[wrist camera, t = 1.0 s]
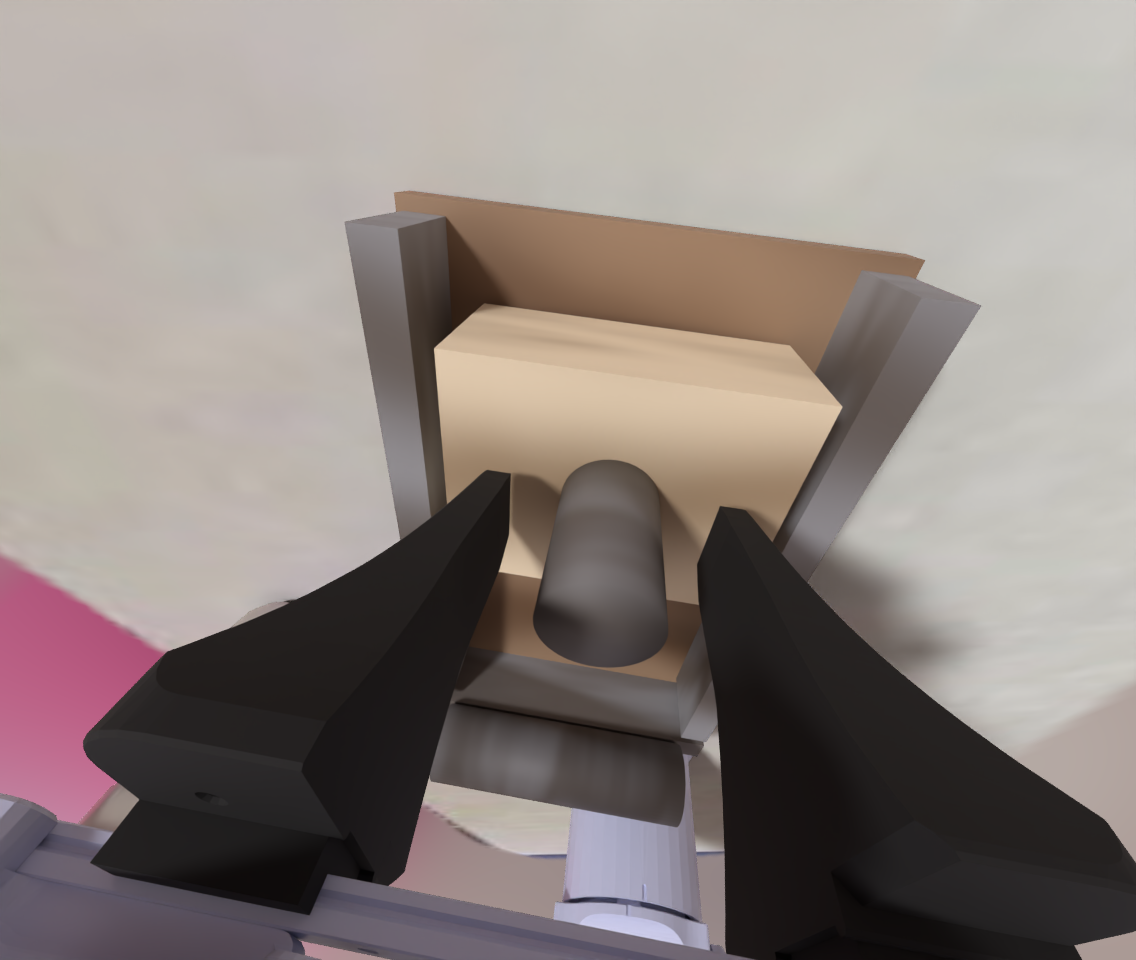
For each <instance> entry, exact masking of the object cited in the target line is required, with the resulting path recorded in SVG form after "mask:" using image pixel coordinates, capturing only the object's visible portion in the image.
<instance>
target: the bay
mask: <svg viewBox="0 0 1136 960" xmlns="http://www.w3.org/2000/svg"><path fill="white" fill-rule="evenodd" d="M394 196H395V205H396V212H394V213H389V214H383V215H378V216H373V217H367V218H362V219H357V220H352V221H346V222H345V227H346V233H347V239H348V244H349V250H350V256H351V261H352V267H353V273H354V278H355V284H356V290H357V295H358V301H359V307H360V312H361V318H362V324H363V329H364V335H365V341H366V346H367V352H368V358H369V363H370V369H371V375H372V380H373V386H374V392H375V397H376V403H377V409H378V414H379V420H380V426H381V431H382V437H383V443H384V448H385V454H386V460H387V465H388V471H389V477H390V482H391V488H392V494H393V499H394V505H395V511H396V516H397V522H398V528H399V533H400V539H403V538H404V537H406V536H407V535H408V534H410V533H411V532H412V531H414V530H415V529H416V528H418V527H419V526H420V525H422V524H423V523H424V522H426V521H427V520H428V519H430V518H431V517H432V516H433V515H434V514H436V513H437V512H438V511H439V510H440V509H442V508H443V507H444V506H445V505H447V497H446V485H445V473H444V461H443V449H442V437H441V426H440V414H439V402H438V390H437V378H436V366H435V354H434V348H435V347H436V346H437V345H438V344H439V343H440V342H442V341H443V340H444V339H445V338H446V337H447V336H448V335H449V334H450V333H452V332H453V331H454V330H455V329H456V328H457V327H458V326H459V325H461V324H462V323H463V322H464V321H465V320H466V319H467V318H468V317H469V316H471V315H472V314H473V313H474V312H475V311H476V310H477V309H478V308H479V307H481V306H482V305H483V304H484V303H486V304H493V305H500V306H508V307H515V308H522V309H529V310H536V311H544V312H551V313H558V314H565V315H573V316H580V317H587V318H594V319H602V320H609V321H616V322H623V323H631V324H638V325H645V326H652V327H660V328H667V329H674V330H681V331H689V332H696V333H703V334H710V335H718V336H725V337H732V338H739V339H747V340H754V341H761V342H768V343H775V344H783V345H790V346H791V347H792V349H793V350H794V351H795V352H796V353H797V354H798V356H799V357H800V358H801V359H802V360H803V361H804V363H805V364H806V365H807V366H808V367H809V368H810V370H811V371H812V372H813V373H814V374H815V375H816V377H817V378H818V379H819V380H820V381H821V382H822V383H823V385H824V386H825V387H826V388H827V389H828V390H829V392H830V393H831V394H832V395H833V396H834V397H835V399H836V400H837V401H838V402H839V403H840V404H841V406H842V409H841V411H840V413H839V415H838V417H837V419H836V421H835V423H834V425H833V426H832V428H831V430H830V432H829V434H828V436H827V438H826V440H825V442H824V444H823V446H822V448H821V450H820V452H819V453H818V455H817V457H816V459H815V461H814V463H813V465H812V467H811V469H810V471H809V473H808V475H807V477H806V479H805V480H804V482H803V484H802V486H801V488H800V490H799V492H798V494H797V496H796V498H795V500H794V502H793V504H792V505H791V507H790V509H789V511H788V513H787V515H786V517H785V519H784V521H783V523H782V525H781V527H780V529H779V531H778V532H777V534H776V536H775V538H774V540H773V544H774V545H775V546H776V547H777V548H778V550H779V551H780V552H781V553H782V554H783V556H784V557H785V558H786V559H787V560H788V562H789V563H790V564H791V565H792V566H793V567H794V569H795V570H796V571H797V572H798V573H799V574H800V575H801V577H802V578H803V579H804V580H805V581H806V582H807V581H808V580H809V578H810V577H811V575H812V573H813V572H814V570H815V569H816V567H817V565H818V564H819V562H820V561H821V559H822V558H823V556H824V554H825V553H826V551H827V550H828V548H829V546H830V545H831V543H832V542H833V540H834V539H835V537H836V535H837V534H838V532H839V531H840V529H841V527H842V526H843V524H844V523H845V521H846V520H847V518H848V516H849V515H850V513H851V512H852V510H853V508H854V507H855V505H856V504H857V502H858V500H859V499H860V497H861V496H862V494H863V493H864V491H865V489H866V488H867V486H868V485H869V483H870V481H871V480H872V478H873V477H874V475H875V474H876V472H877V470H878V469H879V467H880V466H881V464H882V462H883V461H884V459H885V458H886V456H887V455H888V453H889V451H890V450H891V448H892V447H893V445H894V443H895V442H896V440H897V439H898V437H899V436H900V434H901V432H902V431H903V429H904V428H905V426H906V424H907V423H908V421H909V420H910V418H911V416H912V415H913V413H914V412H915V410H916V409H917V407H918V405H919V404H920V402H921V401H922V399H923V397H924V396H925V394H926V393H927V391H928V390H929V388H930V386H931V385H932V383H933V382H934V380H935V378H936V377H937V375H938V374H939V372H940V371H941V369H942V367H943V366H944V364H945V363H946V361H947V359H948V358H949V356H950V355H951V353H952V352H953V350H954V348H955V347H956V345H957V344H958V342H959V340H960V339H961V337H962V336H963V334H964V333H965V331H966V329H967V328H968V326H969V325H970V323H971V321H972V320H973V318H974V317H975V315H976V313H977V312H978V310H979V309H980V307H981V305H979V304H976V303H974V302H971V301H969V300H966V299H964V298H961V297H959V296H956V295H954V294H951V293H949V292H946V291H944V290H941V289H939V288H936V287H934V286H931V285H929V284H927V283H924V282H922V281H919V280H917V279H916V277H917V275H918V273H919V271H920V269H921V267H922V265H923V263H924V262H925V260H922V259H919V258H916V257H913V256H910V255H907V254H901V253H893V252H885V251H877V250H870V249H862V248H854V247H846V246H838V245H830V244H822V243H815V242H807V241H799V240H791V239H783V238H775V237H768V236H760V235H752V234H744V233H736V232H728V231H720V230H713V229H705V228H697V227H689V226H681V225H673V224H666V223H658V222H650V221H642V220H634V219H626V218H618V217H611V216H603V215H595V214H587V213H579V212H571V211H564V210H556V209H548V208H540V207H532V206H524V205H516V204H509V203H501V202H493V201H485V200H477V199H469V198H462V197H454V196H446V195H438V194H430V193H422V192H414V191H404V192H394ZM540 583H541V579H539V578H533V577H527V576H521V575H515V574H509V573H503V572H498V575H497V577H496V580H495V582H494V584H493V587H492V589H491V592H490V594H489V597H488V599H487V602H486V604H485V607H484V609H483V611H482V614H481V616H480V619H479V621H478V624H477V626H476V628H475V631H474V633H473V636H472V638H471V641H470V643H469V645H468V648H467V651H466V654H465V656H464V659H463V662H462V665H461V668H460V671H459V675H458V678H457V681H456V685H455V688H454V691H453V695H452V698H451V701H450V705H449V708H448V712H447V715H446V718H445V722H444V725H443V729H442V732H441V736H440V739H439V743H438V746H437V750H436V753H435V757H434V761H433V764H432V768H431V772H430V780H431V781H432V782H437V783H443V784H448V785H453V786H459V787H464V788H469V789H475V790H480V791H485V792H491V793H496V794H501V795H506V796H512V797H517V798H522V799H528V800H533V801H538V802H544V803H549V804H554V805H560V806H565V807H570V808H576V809H581V810H586V811H591V812H597V813H602V814H607V815H613V816H618V817H623V818H629V819H634V820H639V821H645V822H650V823H655V824H660V825H666V826H671V827H678V826H679V825H680V823H681V820H682V816H683V811H684V804H685V788H686V780H685V764H684V758H683V754H686V755H691V756H698V754H699V752H700V751H701V749H702V748H703V746H704V744H703V742H706V741H707V740H708V738H709V737H710V735H711V733H712V732H713V730H714V729H715V727H716V726H717V724H718V720H717V708H716V700H715V693H714V686H713V681H712V675H711V670H710V664H709V659H708V653H707V648H706V642H705V637H704V631H703V625H702V620H701V614H700V608H699V605H696V604H690V603H684V602H678V601H672V600H666V601H667V615H668V637H667V641H666V642H665V644H664V646H663V647H662V649H661V650H660V651H659V652H658V653H657V654H655V655H654V656H652V657H651V658H649V659H647V660H645V661H643V662H640V663H637V664H634V665H630V666H624V667H615V668H605V667H594V666H588V665H583V664H580V663H576V662H573V661H571V660H568V659H566V658H564V657H562V656H560V655H558V654H557V653H555V652H553V651H552V650H551V649H549V648H548V647H547V646H546V645H545V644H544V643H543V642H542V641H541V640H540V638H539V637H538V635H537V634H536V631H535V629H534V625H533V614H534V609H535V605H536V601H537V596H538V592H539V588H540Z"/></svg>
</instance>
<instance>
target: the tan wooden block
mask: <svg viewBox="0 0 1136 960" xmlns="http://www.w3.org/2000/svg"><path fill="white" fill-rule="evenodd" d="M434 354H435V366H436V378H437V390H438V402H439V414H440V426H441V437H442V449H443V461H444V473H445V485H446V497H447V504H448V503H449V502H450V501H451V500H452V499H454V498H455V497H456V496H457V495H458V494H459V493H460V492H462V491H463V490H464V489H465V488H466V487H467V486H468V485H469V484H471V483H472V482H473V481H474V480H475V479H476V478H477V477H478V476H479V475H480V474H482V473H483V472H484V471H486V470H492V471H499V472H505V473H511V485H510V524H509V537H508V541H507V544H506V548H505V552H504V556H503V559H502V563H501V566H500V570H499V572H503V573H509V574H515V575H521V576H527V577H533V578H539V579H541V583H540V588H539V592H538V596H537V601H536V605H535V609H534V614H533V625H534V629H535V631H536V634H537V635H538V637H539V638H540V640H541V641H542V642H543V643H544V644H545V645H546V646H547V647H548V648H549V649H551V650H552V651H553V652H555V653H557V654H558V655H560V656H562V657H564V658H566V659H568V660H571V661H573V662H576V663H580V664H583V665H588V666H594V667H605V668H615V667H624V666H630V665H634V664H637V663H640V662H643V661H645V660H647V659H649V658H651V657H652V656H654V655H655V654H657V653H658V652H659V651H660V650H661V649H662V647H663V646H664V644H665V642H666V641H667V637H668V615H667V601H666V600H672V601H678V602H684V603H690V604H696V605H699V602H698V583H697V563H698V561H699V558H700V555H701V553H702V550H703V548H704V545H705V543H706V540H707V538H708V535H709V533H710V530H711V528H712V525H713V522H714V520H715V517H716V515H717V512H718V510H719V507H720V506H724V507H731V508H737V509H743V510H746V511H747V512H748V513H749V514H750V515H751V517H752V518H753V519H754V520H755V521H756V523H757V524H758V525H759V526H760V528H761V529H762V530H763V531H764V532H765V534H766V535H767V536H768V537H769V539H770V540H771V541H772V542H773V540H774V538H775V536H776V534H777V532H778V531H779V529H780V527H781V525H782V523H783V521H784V519H785V517H786V515H787V513H788V511H789V509H790V507H791V505H792V504H793V502H794V500H795V498H796V496H797V494H798V492H799V490H800V488H801V486H802V484H803V482H804V480H805V479H806V477H807V475H808V473H809V471H810V469H811V467H812V465H813V463H814V461H815V459H816V457H817V455H818V453H819V452H820V450H821V448H822V446H823V444H824V442H825V440H826V438H827V436H828V434H829V432H830V430H831V428H832V426H833V425H834V423H835V421H836V419H837V417H838V415H839V413H840V411H841V409H842V406H841V404H840V403H839V402H838V401H837V400H836V399H835V397H834V396H833V395H832V394H831V393H830V392H829V390H828V389H827V388H826V387H825V386H824V385H823V383H822V382H821V381H820V380H819V379H818V378H817V377H816V375H815V374H814V373H813V372H812V371H811V370H810V368H809V367H808V366H807V365H806V364H805V363H804V361H803V360H802V359H801V358H800V357H799V356H798V354H797V353H796V352H795V351H794V350H793V349H792V347H791V346H790V345H783V344H775V343H768V342H761V341H754V340H747V339H739V338H732V337H725V336H718V335H710V334H703V333H696V332H689V331H681V330H674V329H667V328H660V327H652V326H645V325H638V324H631V323H623V322H616V321H609V320H602V319H594V318H587V317H580V316H573V315H565V314H558V313H551V312H544V311H536V310H529V309H522V308H515V307H508V306H500V305H493V304H486V303H484V304H483V305H482V306H481V307H479V308H478V309H477V310H476V311H475V312H474V313H473V314H472V315H471V316H469V317H468V318H467V319H466V320H465V321H464V322H463V323H462V324H461V325H459V326H458V327H457V328H456V329H455V330H454V331H453V332H452V333H450V334H449V335H448V336H447V337H446V338H445V339H444V340H443V341H442V342H440V343H439V344H438V345H437V346H436V347H435V348H434Z"/></svg>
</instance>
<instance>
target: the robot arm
mask: <svg viewBox="0 0 1136 960" xmlns="http://www.w3.org/2000/svg"><path fill="white" fill-rule="evenodd" d="M510 485H511V473H505V472H499V471H492V470H486V471H484V472H483V473H482V474H480V475H479V476H478V477H477V478H476V479H475V480H474V481H473V482H472V483H471V484H469V485H468V486H467V487H466V488H465V489H464V490H463V491H462V492H460V493H459V494H458V495H457V496H456V497H455V498H454V499H452V500H451V501H450V502H449V503H448V504H447V505H445V506H444V507H443V508H442V509H440V510H439V511H438V512H437V513H436V514H434V515H433V516H432V517H431V518H430V519H428V520H427V521H426V522H424V523H423V524H422V525H420V526H419V527H418V528H416V529H415V530H414V531H412V532H411V533H410V534H408V535H407V536H406V537H404V538H403V539H401V540H400V541H399V542H397V543H396V544H394V545H393V546H391V547H390V548H388V549H387V550H385V551H384V552H382V553H381V554H379V555H378V556H376V557H374V558H373V559H371V560H370V561H368V562H366V563H365V564H363V565H361V566H360V567H358V568H356V569H355V570H353V571H351V572H349V573H347V574H345V575H343V576H342V577H340V578H338V579H336V580H334V581H332V582H330V583H328V584H326V585H325V586H323V587H321V588H319V589H317V590H315V591H313V592H311V593H309V594H307V595H305V596H303V597H301V598H299V599H297V600H294V601H292V602H290V603H288V604H286V605H284V606H282V607H279V608H277V609H275V610H272V611H270V612H268V613H266V614H263V615H261V616H259V617H256V618H254V619H252V620H249V621H247V622H244V623H242V624H240V625H237V626H234V627H232V628H229V629H227V630H224V631H221V632H219V633H216V634H213V635H211V636H208V637H206V638H203V639H200V640H198V641H195V642H193V643H190V644H187V645H185V646H182V647H179V648H176V649H173V650H171V651H168V652H166V653H165V654H164V655H163V656H162V657H161V658H160V659H159V660H158V661H157V662H156V663H155V664H154V665H153V666H152V667H151V668H150V669H149V670H148V671H147V672H146V674H144V676H142V677H141V678H140V680H139V681H138V682H137V683H136V684H135V685H134V686H133V687H132V688H131V689H130V690H129V691H128V692H127V693H126V694H125V695H124V696H123V697H122V698H121V699H120V700H119V701H118V702H117V703H116V704H115V705H114V707H113V708H111V710H110V711H109V712H108V713H107V714H106V715H105V716H104V717H103V718H102V719H101V720H100V721H99V722H98V723H97V724H96V725H95V726H94V727H93V728H92V729H91V730H90V731H89V732H88V733H87V735H86V737H85V739H84V740H83V747H84V751H85V753H86V755H87V757H88V758H89V759H90V760H91V761H92V762H93V763H94V764H95V765H96V766H97V767H98V768H100V769H101V770H102V771H104V772H105V773H106V774H107V775H109V776H110V777H111V778H113V779H114V780H115V781H117V782H118V783H119V784H120V785H122V786H123V787H124V788H125V789H127V790H128V791H129V792H131V793H132V794H133V795H134V796H136V797H137V798H138V799H139V801H138V802H137V803H136V804H135V806H134V807H133V808H132V809H131V811H130V812H129V813H128V815H127V816H126V817H125V818H124V820H123V821H122V822H121V823H120V825H119V826H118V827H117V829H116V830H115V831H110V830H105V829H100V828H95V827H90V826H85V825H80V824H75V823H70V822H65V821H59V820H57V817H56V815H54V814H53V813H52V812H50V811H48V810H47V809H45V808H44V807H42V806H39V805H37V804H35V803H33V802H30V801H28V800H25V799H22V798H18V797H14V796H11V795H7V794H1V793H0V960H320V959H317V958H313V957H310V956H306V955H305V950H304V947H303V945H302V942H301V941H305V942H309V943H315V944H319V945H324V946H329V947H334V948H338V949H343V950H348V951H353V952H358V953H362V954H367V955H372V956H377V957H382V958H387V959H391V960H1082V959H1081V957H1080V955H1079V954H1078V952H1077V950H1076V948H1075V946H1074V945H1078V944H1082V943H1087V942H1091V941H1095V940H1100V939H1104V938H1108V937H1113V936H1118V935H1122V934H1126V933H1130V932H1134V931H1136V863H1135V861H1134V860H1133V858H1132V857H1131V856H1130V854H1129V853H1128V851H1127V850H1126V848H1125V847H1124V846H1123V844H1122V843H1121V841H1120V840H1119V839H1118V837H1117V836H1116V834H1115V833H1114V831H1113V830H1112V829H1111V827H1110V826H1109V825H1108V823H1107V822H1106V821H1105V820H1104V819H1103V818H1101V817H1100V816H1098V815H1097V814H1095V813H1094V812H1092V811H1091V810H1089V809H1088V808H1086V807H1085V806H1083V805H1082V804H1080V803H1079V802H1077V801H1076V800H1074V799H1073V798H1071V797H1070V796H1068V795H1067V794H1065V793H1064V792H1062V791H1061V790H1059V789H1058V788H1056V787H1055V786H1053V785H1052V784H1050V783H1049V782H1047V781H1046V780H1044V779H1043V778H1041V777H1040V776H1038V775H1037V774H1035V773H1034V772H1032V771H1031V770H1029V769H1028V768H1026V767H1025V766H1023V765H1022V764H1020V763H1019V762H1017V761H1016V760H1014V759H1013V758H1012V757H1010V756H1009V755H1007V754H1006V753H1004V752H1003V751H1002V750H1000V749H999V748H998V747H996V746H995V745H993V744H992V743H991V742H989V741H988V740H987V739H985V738H984V737H982V736H981V735H980V734H978V733H977V732H975V731H974V730H973V729H971V728H970V727H969V726H967V725H966V724H964V723H963V722H962V721H961V720H959V719H958V718H957V717H955V716H954V715H953V714H951V713H950V712H949V711H947V710H946V709H945V708H943V707H942V706H941V705H940V704H938V703H937V702H936V701H934V700H933V699H932V698H931V697H929V696H928V695H927V694H926V693H925V692H923V691H922V690H921V689H920V688H918V687H917V686H916V685H915V684H914V683H912V682H911V681H910V680H909V679H907V678H906V677H905V676H904V675H902V674H901V673H900V672H899V671H898V670H897V669H895V668H894V667H893V666H892V665H891V664H890V663H888V662H887V661H886V660H885V659H884V658H883V657H881V656H880V655H879V654H878V653H877V652H876V651H875V650H874V649H873V648H872V647H871V646H869V645H868V644H867V643H866V642H865V641H864V640H863V639H862V638H861V637H860V636H859V635H857V634H856V633H855V632H854V631H853V630H852V629H851V628H850V627H849V626H848V625H847V624H846V623H845V622H844V621H843V620H842V619H841V618H840V617H839V616H838V615H837V614H836V613H835V612H834V611H833V610H832V609H831V608H830V607H829V606H828V605H827V604H826V603H825V602H824V601H823V600H822V598H821V597H820V596H819V595H818V594H817V593H816V592H815V591H814V590H813V589H812V588H811V587H810V586H809V584H808V583H807V582H806V581H805V580H804V579H803V578H802V577H801V575H800V574H799V573H798V572H797V571H796V570H795V569H794V567H793V566H792V565H791V564H790V563H789V562H788V560H787V559H786V558H785V557H784V556H783V554H782V553H781V552H780V551H779V550H778V548H777V547H776V546H775V545H774V544H773V542H772V541H771V540H770V539H769V537H768V536H767V535H766V534H765V532H764V531H763V530H762V529H761V528H760V526H759V525H758V524H757V523H756V521H755V520H754V519H753V518H752V517H751V515H750V514H749V513H748V512H747V511H746V510H743V509H737V508H731V507H724V506H720V507H719V510H718V512H717V515H716V517H715V520H714V522H713V525H712V528H711V530H710V533H709V535H708V538H707V540H706V543H705V545H704V548H703V550H702V553H701V555H700V558H699V561H698V563H697V583H698V602H699V608H700V614H701V620H702V625H703V631H704V637H705V642H706V648H707V653H708V659H709V664H710V670H711V675H712V681H713V686H714V693H715V700H716V708H717V720H718V733H719V745H720V761H721V778H722V795H723V821H724V849H725V913H726V917H725V918H726V919H725V924H726V925H725V940H726V941H725V945H726V953H725V951H724V949H723V947H722V946H720V945H713V944H711V945H710V941H709V931H708V925H707V924H706V923H702V914H701V903H700V891H699V880H698V869H697V857H696V845H695V834H694V822H693V811H692V799H691V788H690V777H689V765H688V763H689V761H690V760H691V758H692V756H691V755H686V754H683V758H684V764H685V780H686V788H685V804H684V811H683V816H682V820H681V823H680V825H679V826H678V827H671V826H666V825H660V824H655V823H650V822H645V821H639V820H634V819H629V818H623V817H618V816H613V815H607V814H602V813H597V812H591V811H586V810H581V809H576V808H572V810H571V820H570V830H569V840H568V850H567V860H566V870H565V880H564V891H563V900H562V902H556V903H555V910H554V919H550V918H545V917H539V916H534V915H530V914H525V913H519V912H514V911H509V910H505V909H500V908H494V907H490V906H485V905H480V904H475V903H470V902H465V901H460V900H455V899H450V898H445V897H440V896H435V895H430V894H425V893H419V892H415V891H409V890H405V889H400V888H394V887H390V886H389V885H390V884H391V883H393V882H394V881H395V880H396V879H397V878H399V877H400V876H401V875H402V874H403V873H404V871H405V867H406V863H407V859H408V855H409V851H410V847H411V844H412V839H413V836H414V832H415V828H416V824H417V820H418V817H419V813H420V809H421V805H422V801H423V797H424V794H425V790H426V786H427V783H428V779H429V775H430V772H431V768H432V764H433V761H434V757H435V753H436V750H437V746H438V743H439V739H440V736H441V732H442V729H443V725H444V722H445V718H446V715H447V712H448V708H449V705H450V701H451V698H452V695H453V691H454V688H455V685H456V681H457V678H458V675H459V671H460V668H461V665H462V662H463V659H464V656H465V654H466V651H467V648H468V645H469V643H470V641H471V638H472V636H473V633H474V631H475V628H476V626H477V624H478V621H479V619H480V616H481V614H482V611H483V609H484V607H485V604H486V602H487V599H488V597H489V594H490V592H491V589H492V587H493V584H494V582H495V580H496V577H497V575H498V572H499V570H500V566H501V563H502V559H503V556H504V552H505V548H506V544H507V541H508V537H509V524H510ZM299 940H300V941H299Z"/></svg>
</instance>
